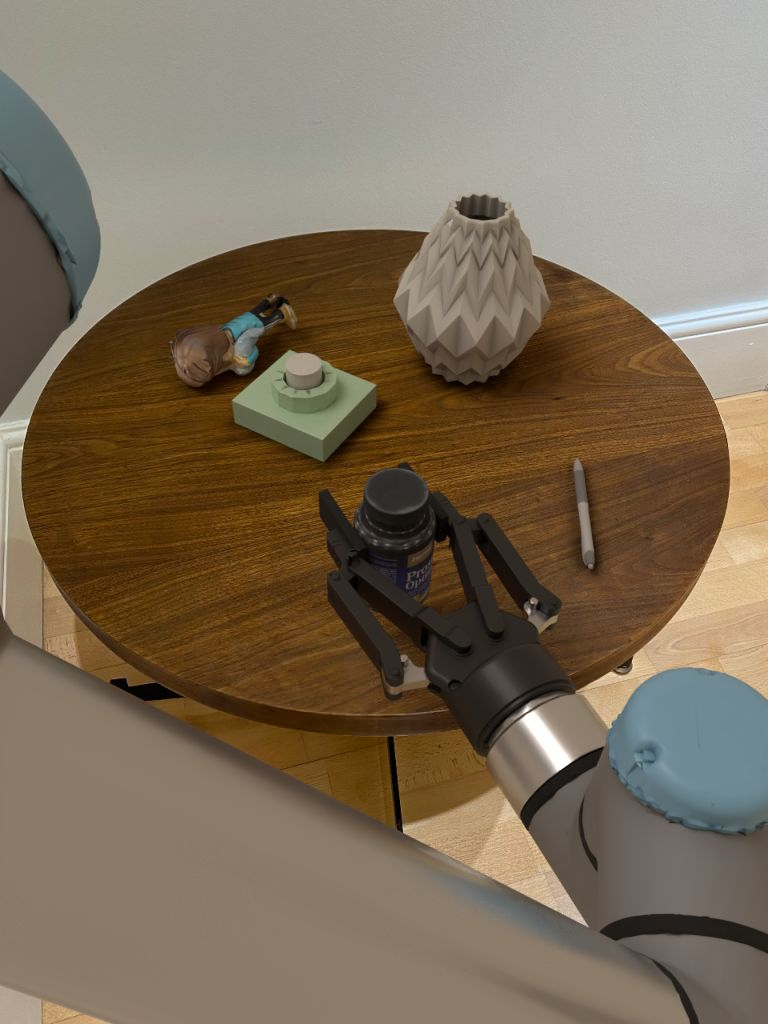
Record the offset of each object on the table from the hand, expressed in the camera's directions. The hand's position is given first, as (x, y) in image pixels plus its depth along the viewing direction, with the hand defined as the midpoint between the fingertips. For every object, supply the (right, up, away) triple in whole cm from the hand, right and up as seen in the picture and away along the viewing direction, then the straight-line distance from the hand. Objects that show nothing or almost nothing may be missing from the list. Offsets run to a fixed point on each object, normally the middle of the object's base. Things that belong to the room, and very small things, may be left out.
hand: (363, 489), depth 68 cm
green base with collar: (-6, +8, +23) cm, 25 cm away
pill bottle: (+2, -8, +2) cm, 8 cm away
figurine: (-14, +15, +29) cm, 36 cm away
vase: (+10, +15, +30) cm, 35 cm away
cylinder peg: (-6, +11, +20) cm, 24 cm away
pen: (+20, -2, +14) cm, 25 cm away
